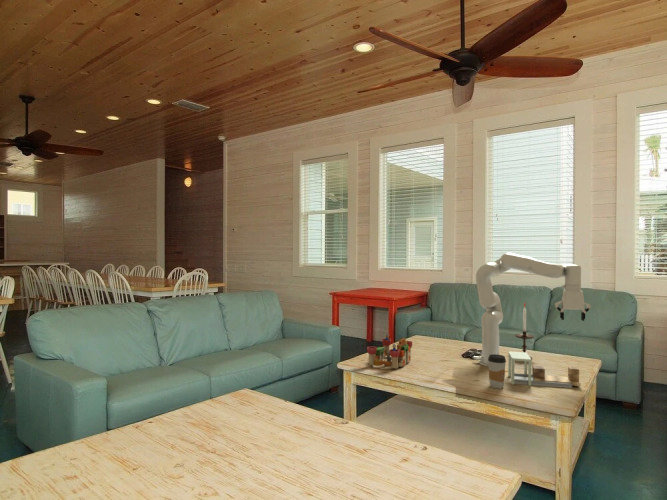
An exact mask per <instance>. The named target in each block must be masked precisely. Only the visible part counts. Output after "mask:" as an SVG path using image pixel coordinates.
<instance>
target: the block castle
mask: <svg viewBox="0 0 667 500" xmlns="http://www.w3.org/2000/svg"><path fill="white" fill-rule="evenodd" d="M389 336H390V335H389V333H387V334H385V338H382V345H383V347H381V346H379V347H377V346H372V345H371V346H366V351H367V354H368V365H369V366H376V367H380V366H381V367H382V366H385V367H391V368H393V369H398V368H399V367H404V366H406V365H407V363H409V362H410V361H411V359H412V354H411V353H412V348H413V341H411V340H406V338H401V339H399V341H398V344H396V343H393V344H392V348H391V349H390V346H391V342H392V339H391V338H389ZM385 357H386V358H385ZM384 359H386V360H384Z"/></svg>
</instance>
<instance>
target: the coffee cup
mask: <svg viewBox="0 0 667 500" xmlns="http://www.w3.org/2000/svg"><path fill="white" fill-rule="evenodd" d="M488 361H489V366H488V376H489V377H488V378H489V385H490V387H491V388H494V389H504V386H505V376H506V362H507V359H506V356H505V355H502V354H499V355H497V354H492V355H489V357H488Z"/></svg>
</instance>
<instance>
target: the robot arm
mask: <svg viewBox="0 0 667 500" xmlns="http://www.w3.org/2000/svg"><path fill="white" fill-rule="evenodd" d="M510 270H517V271H520V272H521V271H522V272H524V273H525V272H526V273H529V274H534V275H538V276H541V277H547V278H551V279H559V278H560V279H561V278H564V284H563V285H561V289H563V291H562V296H561V300H559V301H557V302H555V303H554V306H555V308H556V310H558V311H559V318H560V319H561V320H562V321H564V320H565V311H566V310H572V311H573V310H575V311H581V313H580V320H581V321H582V322H584V321H585V320H586V314H587V312H589V310H590V309H591V307H592V305H591V304H590V303H588V302H586V301H585V298H584V291H583V290H582V267H581V265H579V264H561V263H552V262H551V263H550V262H545V261H542V260H537V259H535V258H534V257H531V256H525V255H520V254H516V253H514V252H505V253H502V255H501V256H500V258H498V259H497V260H494V261H493V262H486V263H484V264H482V265H481V266H480V267H479V268H478V269H477V271H476V274H475V282H476V288H477V295H478V299H479V300H478V301H479V304H480V306H481V307H482V308H483V309H485V312H483V314H482V315H481V320H480V321H481V322H480V323H481V343H482V344H481V354H480V355H479V356H478V355H477V356H475V355H474V356H473V360H476V361H478V362H479V363H478V364H479V365H481V366H484V367H489V361H488V357H489V355H492V354H497V355H500V329H499V327H500V326H499V325H500V324H501V323H502V322H503V319H504V313H503V309H502V302H501V299H500V296H499V294H498V293H496V291H495V292H494V290H493V283H492V281H491V279H492V278H493V277H497V276H500V275H502V274H504V273H505V272H508V271H510ZM559 305H561V307H560V306H559ZM585 306H586V307H585Z"/></svg>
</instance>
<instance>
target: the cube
mask: <svg viewBox="0 0 667 500" xmlns="http://www.w3.org/2000/svg"><path fill="white" fill-rule="evenodd" d="M531 374H532V376H533V377H534V378H538V379H545V375H546V368H545V367H544V366H543V365H541V366H539V365H531Z"/></svg>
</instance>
